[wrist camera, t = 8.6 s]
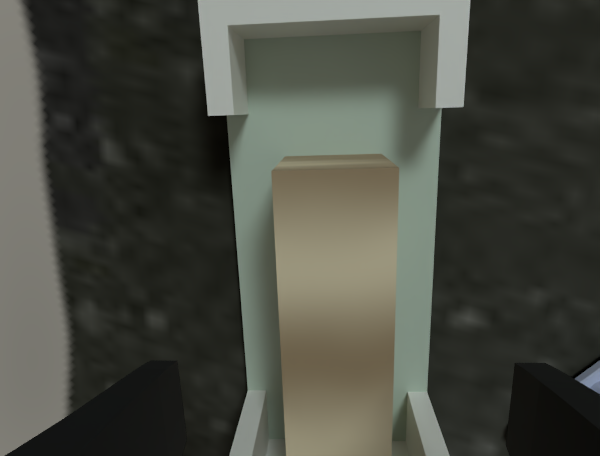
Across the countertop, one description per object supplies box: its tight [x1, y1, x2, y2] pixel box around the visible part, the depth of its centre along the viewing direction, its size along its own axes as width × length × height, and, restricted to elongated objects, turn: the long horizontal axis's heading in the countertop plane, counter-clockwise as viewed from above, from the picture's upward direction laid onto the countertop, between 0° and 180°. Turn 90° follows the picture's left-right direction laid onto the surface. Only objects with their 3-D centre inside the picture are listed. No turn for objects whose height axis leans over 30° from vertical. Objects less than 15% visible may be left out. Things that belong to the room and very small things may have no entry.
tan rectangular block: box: [271, 154, 399, 456], centre depth 15 cm, size 12×4×4 cm, turn 2°
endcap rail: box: [198, 0, 470, 456], centre depth 14 cm, size 18×8×7 cm, turn 2°
